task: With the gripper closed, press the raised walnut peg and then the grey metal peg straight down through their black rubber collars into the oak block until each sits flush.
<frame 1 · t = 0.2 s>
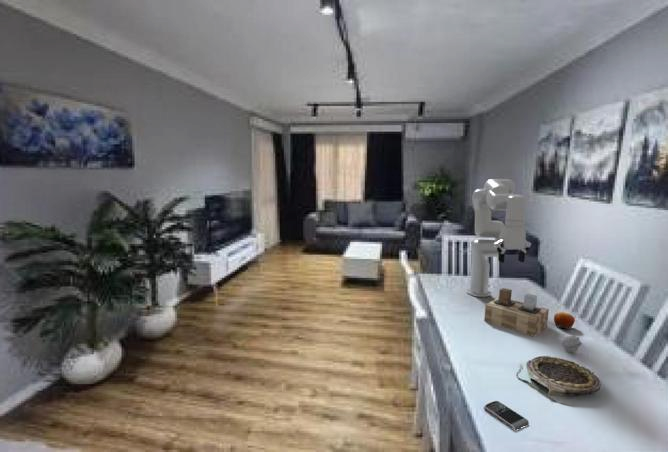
hand: (511, 261, 164), 30 cm above the table, tool pointing down, fingers open, 9 cm apart
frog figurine: (570, 352, 144), on the table
grey metal peg: (529, 305, 165), point 10 cm above the table, slide at 6.0 cm
fruit: (563, 327, 167), on the table
oak block: (515, 323, 170), on the table
walnut peg: (504, 298, 173), point 10 cm above the table, slide at 6.0 cm
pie: (561, 384, 123), on the table
cell phone: (505, 418, 106), on the table
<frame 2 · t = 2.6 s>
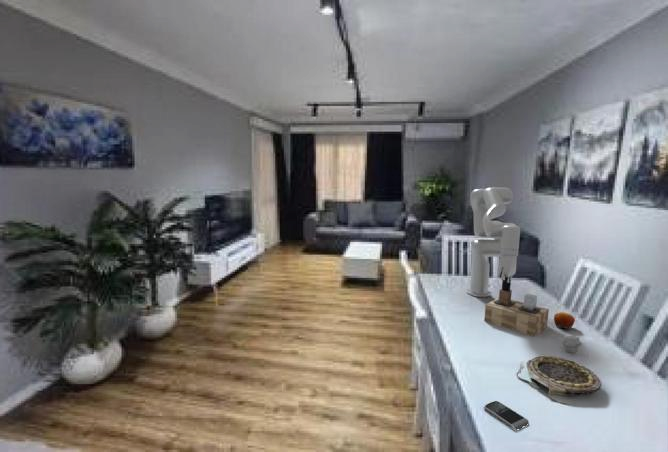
hand: (505, 290, 172), 15 cm above the table, tool pointing down, fingers closed
walnut peg: (504, 299, 173), point 10 cm above the table, slide at 5.8 cm, touching gripper
everything else where it was.
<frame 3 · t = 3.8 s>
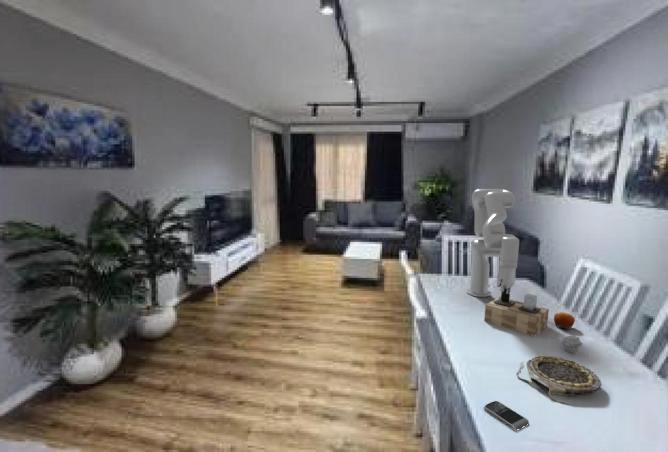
hand: (504, 301, 173), 9 cm above the table, tool pointing down, fingers closed
walnut peg: (503, 310, 174), point 5 cm above the table, slide at 0.4 cm, touching gripper
everything else where it was.
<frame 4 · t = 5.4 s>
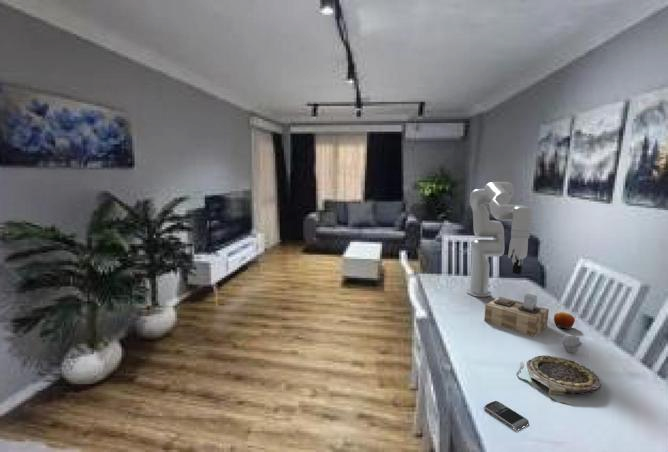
hand: (516, 273, 168), 24 cm above the table, tool pointing down, fingers closed
walnut peg: (503, 310, 174), point 5 cm above the table, slide at 0.3 cm
everything else where it was.
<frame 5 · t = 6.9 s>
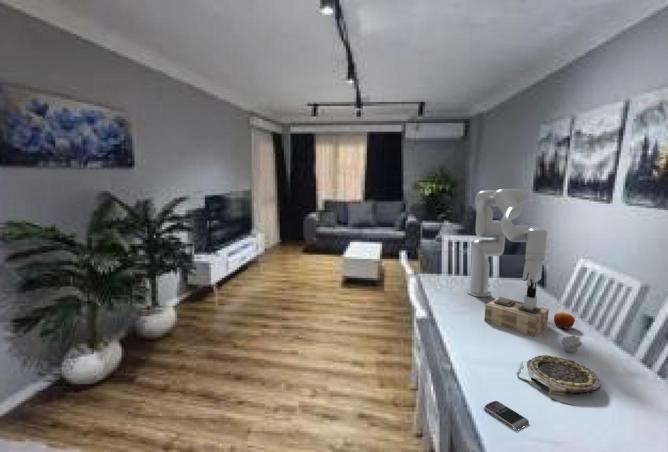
hand: (531, 296, 164), 15 cm above the table, tool pointing down, fingers closed
grey metal peg: (529, 305, 165), point 10 cm above the table, slide at 5.7 cm, touching gripper
everything else where it was.
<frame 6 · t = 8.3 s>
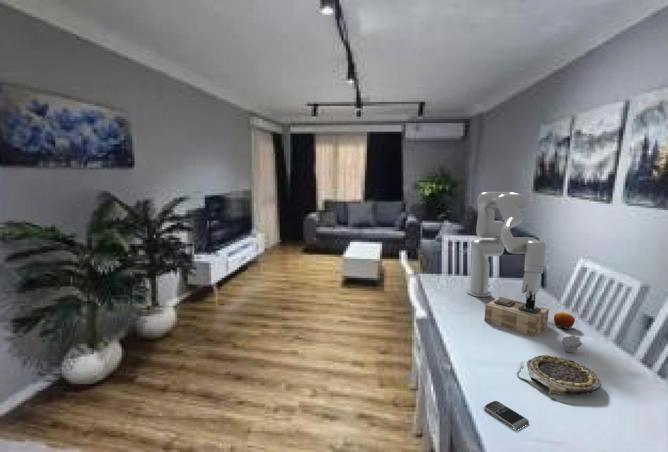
hand: (529, 307, 165), 9 cm above the table, tool pointing down, fingers closed
grey metal peg: (528, 317, 166), point 5 cm above the table, slide at 0.4 cm, touching gripper
everything else where it was.
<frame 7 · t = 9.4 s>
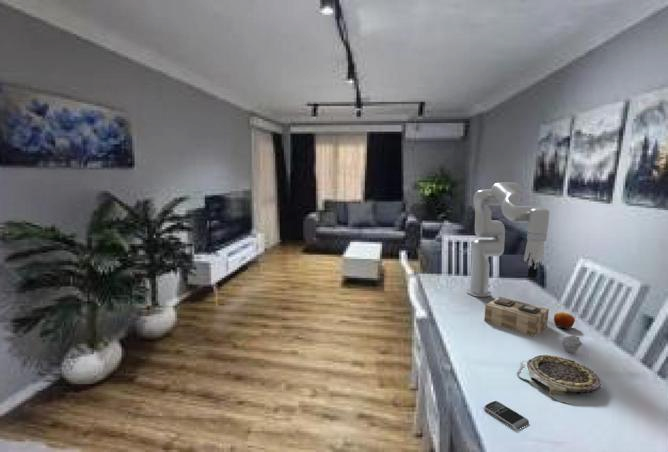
hand: (532, 276, 163), 23 cm above the table, tool pointing down, fingers closed
grey metal peg: (528, 317, 166), point 5 cm above the table, slide at 0.4 cm
everything else where it was.
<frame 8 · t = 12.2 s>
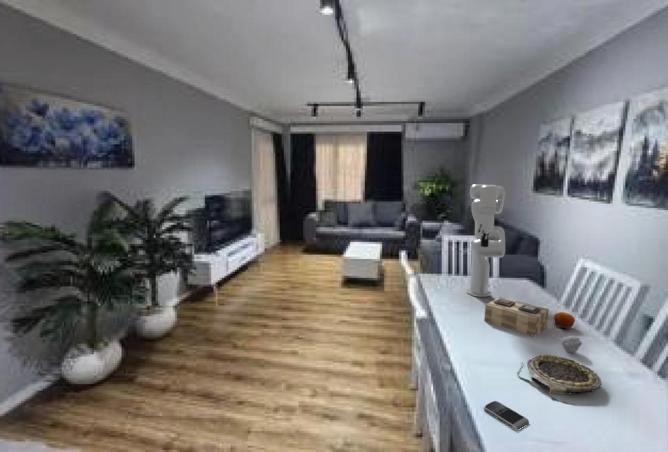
hand: (484, 246, 185), 32 cm above the table, tool pointing down, fingers closed
at the end: walnut peg slide at 0.3 cm; grey metal peg slide at 0.4 cm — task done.
